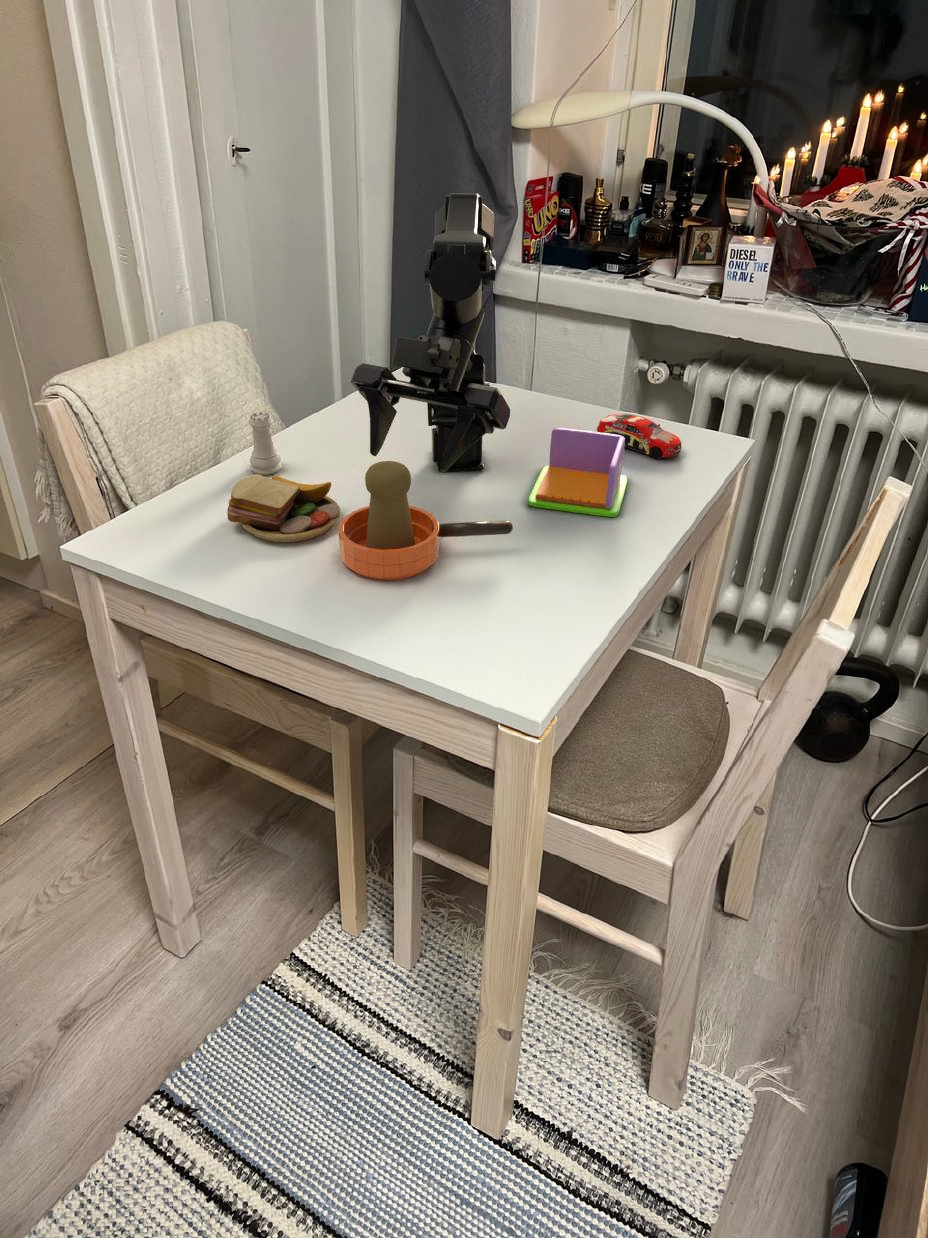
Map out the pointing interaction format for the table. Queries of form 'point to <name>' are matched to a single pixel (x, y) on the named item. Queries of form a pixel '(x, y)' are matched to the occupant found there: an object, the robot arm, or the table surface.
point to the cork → (389, 506)
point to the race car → (642, 435)
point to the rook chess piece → (263, 446)
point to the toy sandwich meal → (282, 508)
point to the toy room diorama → (582, 474)
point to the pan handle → (474, 528)
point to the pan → (389, 560)
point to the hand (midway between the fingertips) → (407, 462)
